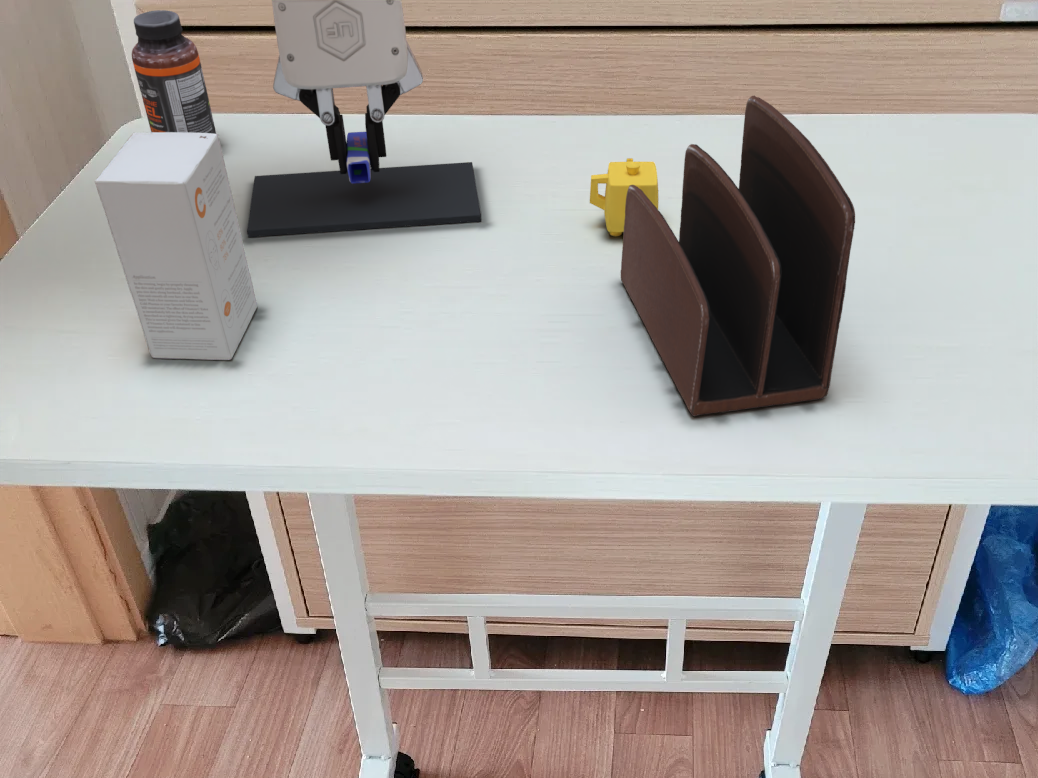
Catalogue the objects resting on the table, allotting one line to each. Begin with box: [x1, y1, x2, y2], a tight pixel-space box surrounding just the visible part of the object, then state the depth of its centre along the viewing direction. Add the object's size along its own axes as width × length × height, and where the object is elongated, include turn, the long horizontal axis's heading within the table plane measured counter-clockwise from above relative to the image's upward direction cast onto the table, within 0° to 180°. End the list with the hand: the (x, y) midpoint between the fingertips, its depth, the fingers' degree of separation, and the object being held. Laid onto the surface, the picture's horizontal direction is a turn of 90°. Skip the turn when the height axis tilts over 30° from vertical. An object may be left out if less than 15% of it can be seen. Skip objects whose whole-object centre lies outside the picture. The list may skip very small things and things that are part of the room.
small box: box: [94, 131, 259, 361], centre depth 80 cm, size 8×6×13 cm
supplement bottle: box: [131, 9, 217, 134], centre depth 103 cm, size 6×6×11 cm
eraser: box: [346, 131, 371, 183], centre depth 96 cm, size 2×6×2 cm, turn 5°
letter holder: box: [620, 95, 856, 417], centre depth 77 cm, size 10×20×14 cm, turn 12°
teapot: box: [589, 157, 659, 237], centre depth 93 cm, size 8×6×5 cm
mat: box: [246, 161, 482, 238], centre depth 99 cm, size 20×11×1 cm, turn 96°
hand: (359, 164), depth 97 cm, fingers closed on eraser, 2 cm apart
